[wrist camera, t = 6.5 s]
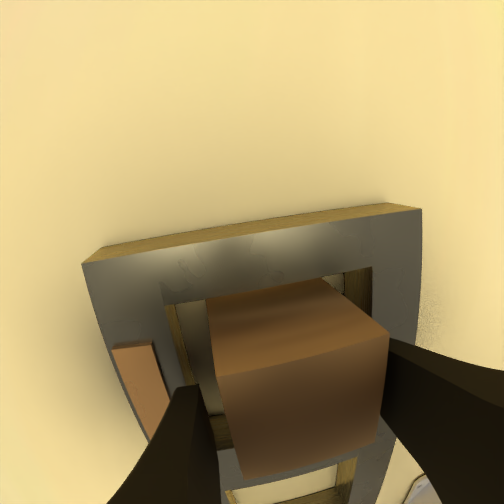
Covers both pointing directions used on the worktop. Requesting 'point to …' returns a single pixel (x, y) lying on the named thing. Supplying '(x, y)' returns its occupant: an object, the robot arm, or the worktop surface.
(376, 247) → the socket plate
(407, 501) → the robot arm
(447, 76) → the worktop surface
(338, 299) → the square peg
